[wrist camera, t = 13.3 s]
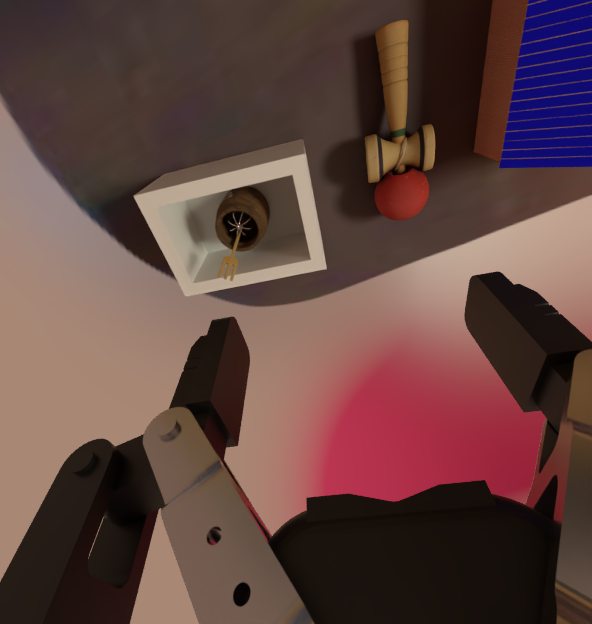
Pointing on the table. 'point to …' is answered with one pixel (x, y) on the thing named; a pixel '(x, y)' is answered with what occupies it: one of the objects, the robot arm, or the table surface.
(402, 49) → the kendama
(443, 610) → the robot arm
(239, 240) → the utensil holder
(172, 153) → the table surface
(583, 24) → the house
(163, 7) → the table surface
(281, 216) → the open rectangular box
